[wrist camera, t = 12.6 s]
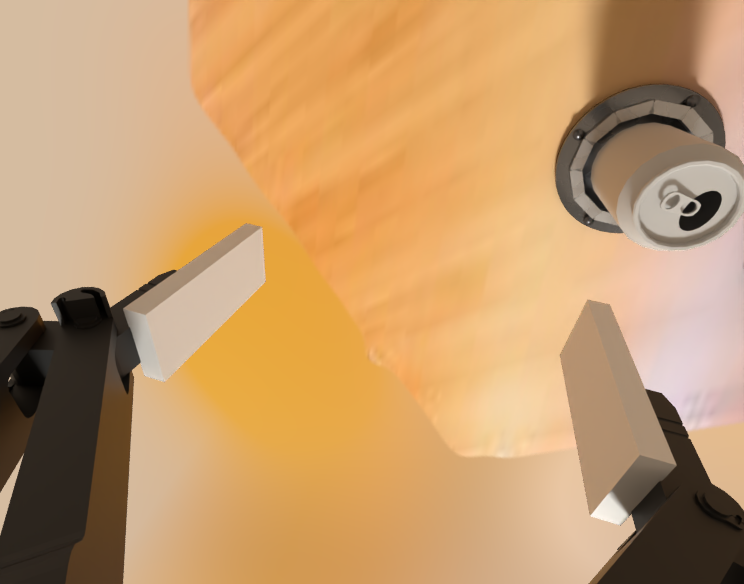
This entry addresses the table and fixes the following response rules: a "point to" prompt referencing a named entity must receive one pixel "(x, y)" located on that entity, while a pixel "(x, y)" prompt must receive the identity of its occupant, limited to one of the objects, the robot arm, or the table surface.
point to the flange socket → (609, 120)
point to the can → (668, 186)
